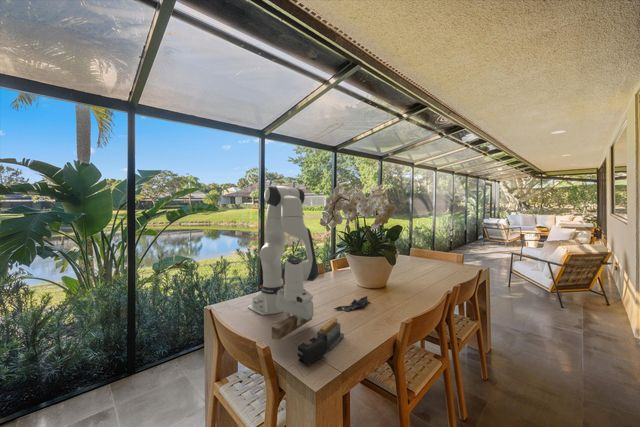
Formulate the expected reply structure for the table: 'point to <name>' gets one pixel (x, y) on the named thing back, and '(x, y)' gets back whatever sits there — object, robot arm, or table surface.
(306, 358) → the end cap
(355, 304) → the decorative bat
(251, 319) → the table surface
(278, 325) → the walnut beam
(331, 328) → the fulcrum stand
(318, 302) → the table surface
